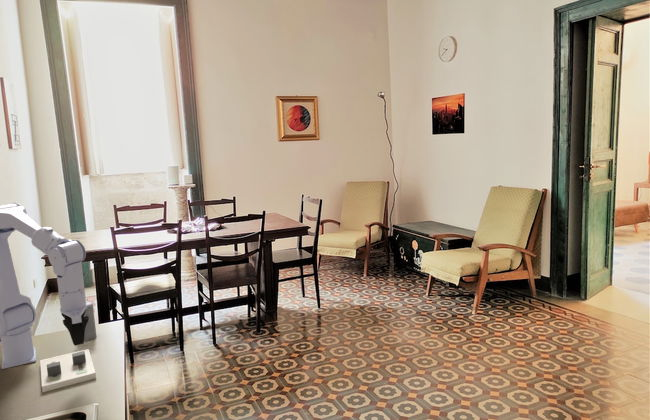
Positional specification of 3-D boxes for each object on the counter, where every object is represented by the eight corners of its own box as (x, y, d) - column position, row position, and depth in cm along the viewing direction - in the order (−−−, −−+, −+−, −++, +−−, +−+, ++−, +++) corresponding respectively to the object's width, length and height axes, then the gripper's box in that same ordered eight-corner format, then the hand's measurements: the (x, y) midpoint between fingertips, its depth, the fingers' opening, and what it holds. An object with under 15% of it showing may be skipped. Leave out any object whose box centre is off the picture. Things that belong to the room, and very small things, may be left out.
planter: (90, 341, 146) (86, 309, 144) (76, 340, 147) (72, 308, 145) (99, 334, 150) (96, 303, 149) (86, 333, 151) (83, 302, 149)
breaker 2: (72, 362, 130) (71, 353, 129) (85, 359, 131) (84, 350, 131) (73, 365, 128) (72, 356, 127) (86, 362, 129) (85, 353, 129)
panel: (40, 365, 132) (40, 359, 132) (89, 353, 138) (88, 348, 138) (42, 392, 119) (41, 386, 118) (96, 378, 125) (95, 372, 124)
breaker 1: (47, 373, 124) (46, 364, 124) (60, 370, 126) (59, 361, 125) (48, 376, 122) (46, 367, 122) (61, 373, 124) (60, 364, 123)
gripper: (92, 294, 116) (98, 347, 119) (86, 278, 129) (91, 326, 131) (59, 300, 113) (66, 354, 115) (56, 284, 125) (62, 333, 127)
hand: (77, 340), depth 123 cm, fingers open, 4 cm apart
